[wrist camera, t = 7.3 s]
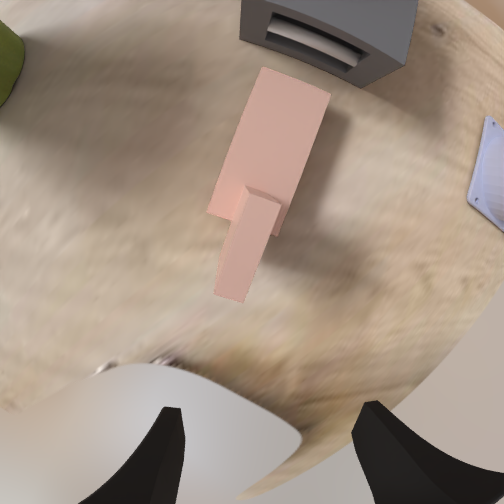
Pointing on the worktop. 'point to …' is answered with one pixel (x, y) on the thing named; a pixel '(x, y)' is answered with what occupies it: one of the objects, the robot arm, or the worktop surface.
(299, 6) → the grey square box
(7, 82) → the plant pot
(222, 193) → the pink stepped block
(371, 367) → the worktop surface
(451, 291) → the worktop surface
